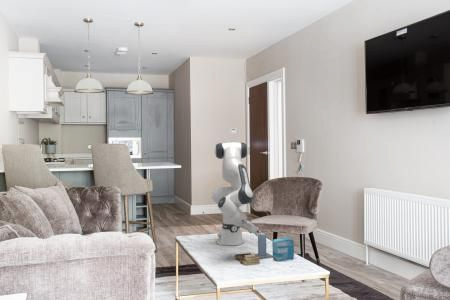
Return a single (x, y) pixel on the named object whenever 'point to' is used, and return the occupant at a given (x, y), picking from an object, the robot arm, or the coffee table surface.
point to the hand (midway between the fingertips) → (254, 233)
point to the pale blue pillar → (262, 244)
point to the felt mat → (263, 256)
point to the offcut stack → (250, 260)
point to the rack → (241, 256)
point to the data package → (283, 249)
